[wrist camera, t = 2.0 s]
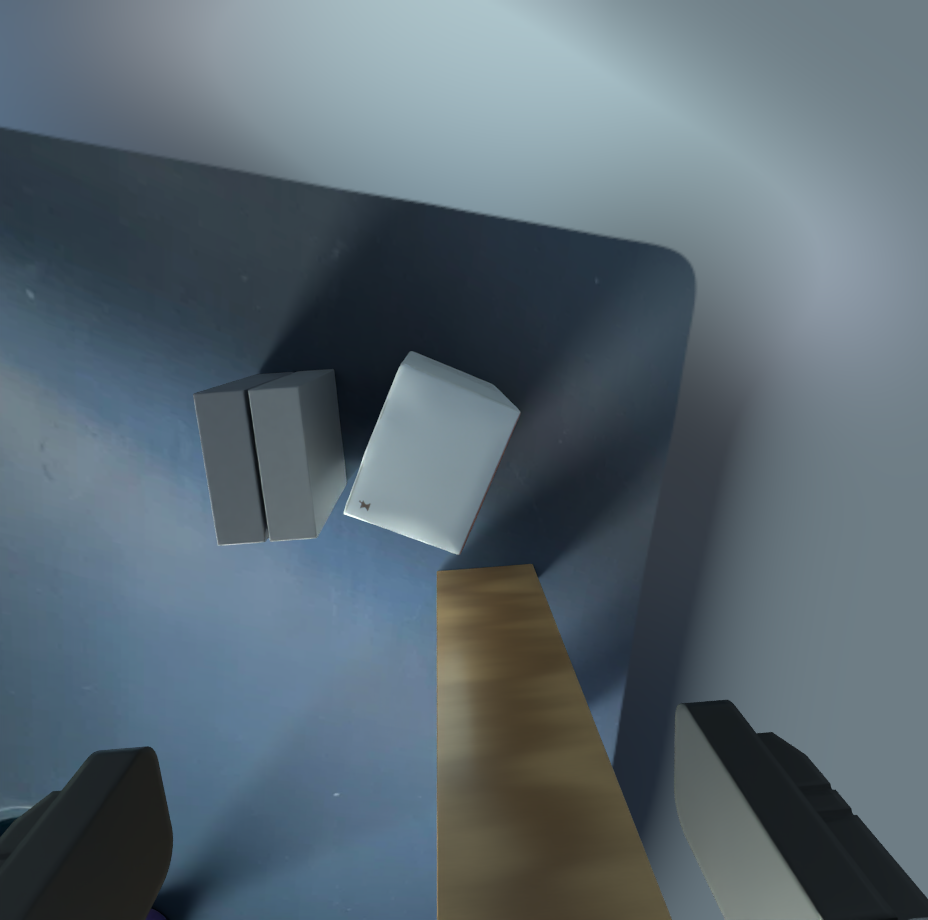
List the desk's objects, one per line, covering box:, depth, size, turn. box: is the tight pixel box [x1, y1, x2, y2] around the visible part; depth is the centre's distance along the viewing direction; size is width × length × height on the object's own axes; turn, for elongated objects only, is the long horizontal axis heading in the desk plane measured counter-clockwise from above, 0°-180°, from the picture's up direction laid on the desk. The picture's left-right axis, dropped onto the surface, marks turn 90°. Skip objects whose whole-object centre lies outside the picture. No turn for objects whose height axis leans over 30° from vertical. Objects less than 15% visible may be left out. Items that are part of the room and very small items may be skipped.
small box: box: [344, 351, 521, 555], centre depth 36 cm, size 8×6×13 cm
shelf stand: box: [437, 564, 672, 920], centre depth 33 cm, size 7×15×28 cm, turn 4°
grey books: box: [193, 369, 347, 546], centre depth 37 cm, size 5×8×11 cm, turn 4°
